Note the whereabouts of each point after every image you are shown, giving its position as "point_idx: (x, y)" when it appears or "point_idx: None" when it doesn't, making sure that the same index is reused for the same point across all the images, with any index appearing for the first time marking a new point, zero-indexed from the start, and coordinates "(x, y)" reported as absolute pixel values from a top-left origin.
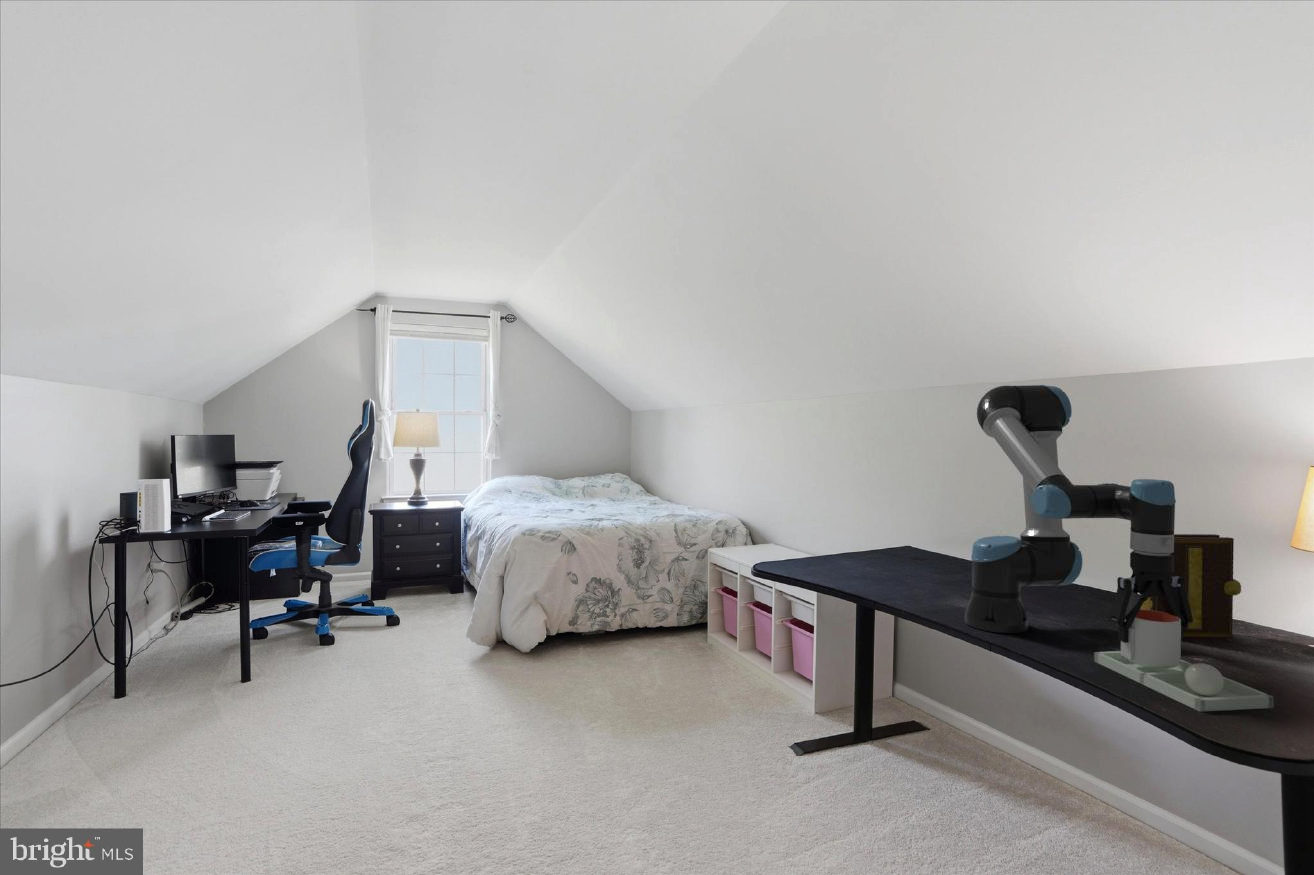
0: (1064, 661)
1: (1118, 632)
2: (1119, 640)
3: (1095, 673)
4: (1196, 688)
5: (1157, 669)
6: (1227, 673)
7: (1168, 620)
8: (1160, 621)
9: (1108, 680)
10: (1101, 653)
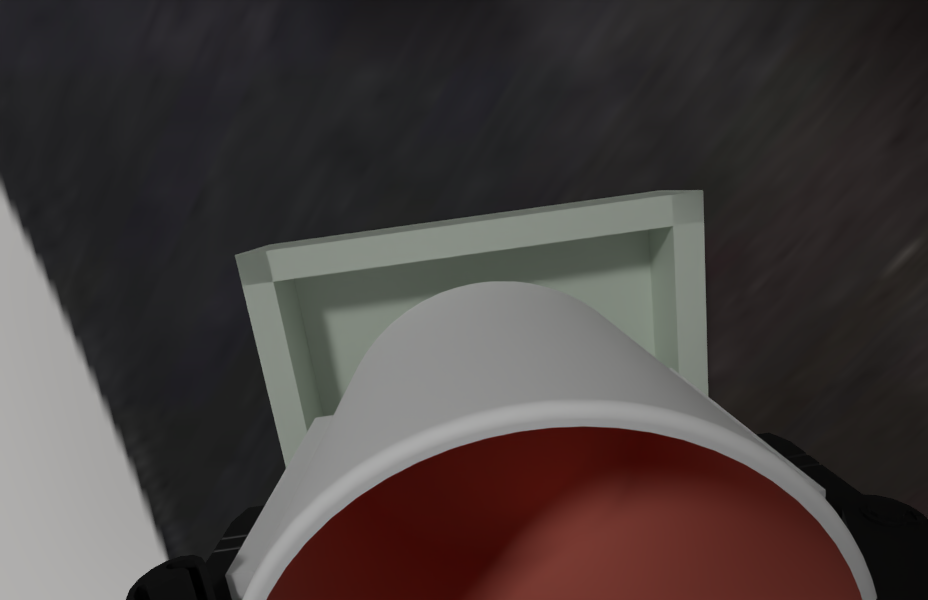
0: (131, 161)
1: (208, 561)
2: (248, 512)
3: (223, 349)
4: None
5: None
6: (913, 325)
7: (798, 564)
8: (750, 469)
9: (241, 439)
10: (270, 282)
